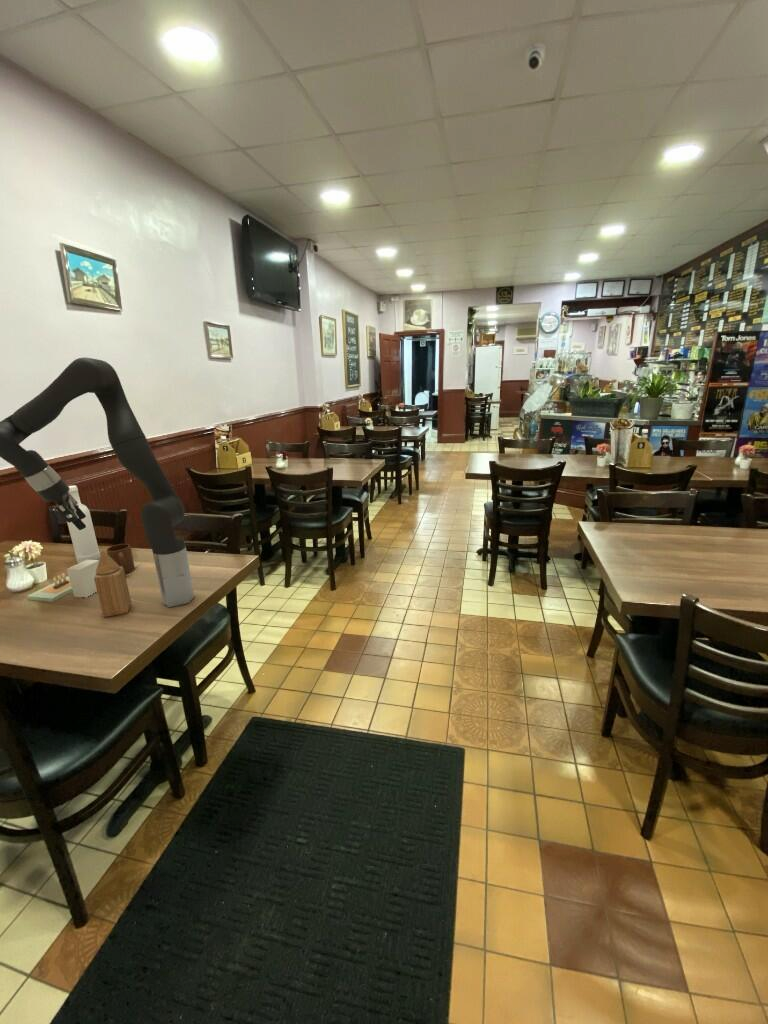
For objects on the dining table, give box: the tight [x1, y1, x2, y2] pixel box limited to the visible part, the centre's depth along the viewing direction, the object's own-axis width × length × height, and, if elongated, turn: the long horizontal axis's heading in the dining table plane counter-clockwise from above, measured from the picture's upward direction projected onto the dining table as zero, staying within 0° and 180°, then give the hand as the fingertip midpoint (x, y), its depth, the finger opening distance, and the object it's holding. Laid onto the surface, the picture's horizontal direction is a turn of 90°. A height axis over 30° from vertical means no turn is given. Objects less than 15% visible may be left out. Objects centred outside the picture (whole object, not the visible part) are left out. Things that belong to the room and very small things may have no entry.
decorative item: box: [94, 550, 132, 618], centre depth 129 cm, size 7×7×20 cm
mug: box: [106, 543, 136, 574], centre depth 157 cm, size 12×8×9 cm, turn 37°
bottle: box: [66, 485, 101, 564], centre depth 167 cm, size 8×8×30 cm
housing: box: [66, 559, 100, 599], centre depth 143 cm, size 8×5×10 cm, turn 168°
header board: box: [26, 573, 73, 603], centre depth 146 cm, size 16×10×5 cm, turn 168°
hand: (83, 523), depth 141 cm, fingers open, 8 cm apart
